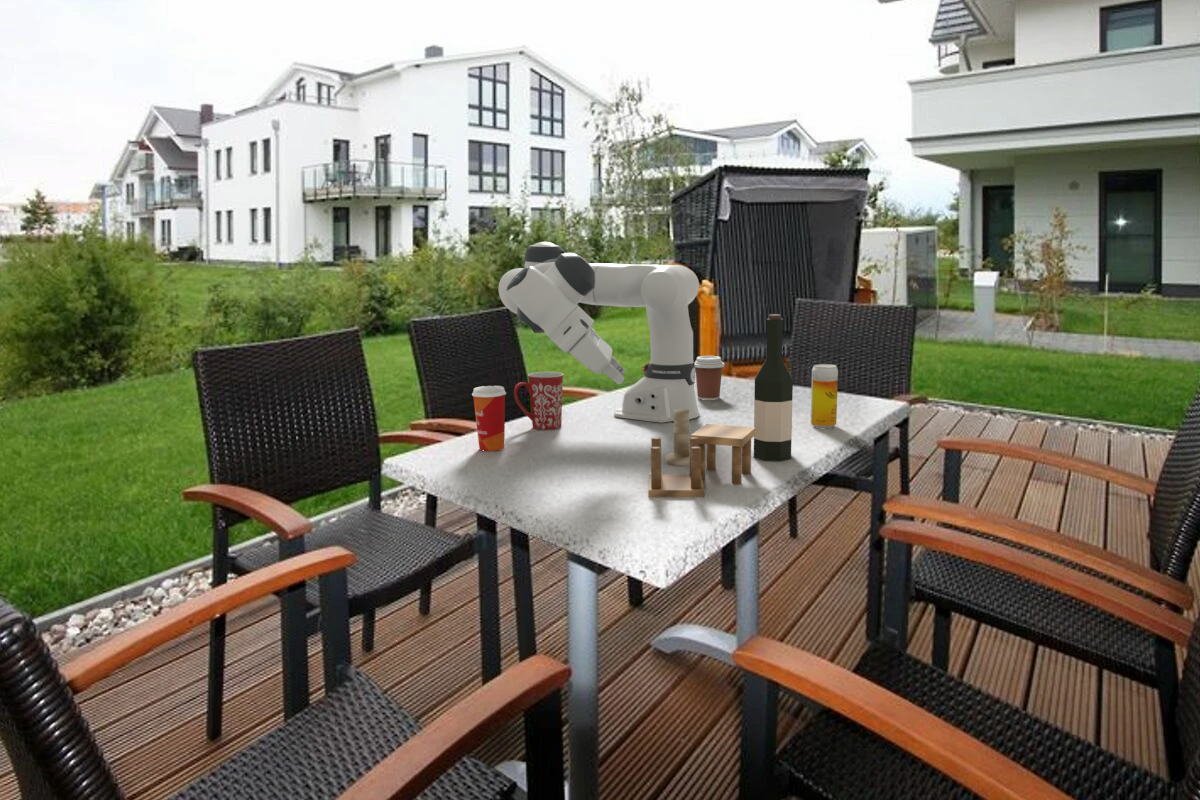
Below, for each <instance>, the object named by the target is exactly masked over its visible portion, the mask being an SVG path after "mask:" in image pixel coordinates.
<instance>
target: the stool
mask: <svg viewBox="0 0 1200 800" xmlns="http://www.w3.org/2000/svg"><path fill="white" fill-rule="evenodd" d="M755 430H756V428H755V427H754V426H743V425H742V426H740V425H725V424H714V423H713V424H712V423H706V424H705V425H703V426H702V427H700V428H699V429H697V430H696V431H694V432H693V433H691V434H690V438H691V437H697V438H699V447H701V475H702V481H705V480H706V470H707V471H711V472H712V471H716V466H717V465H716V463H717V460H716V459H717V458H716V457H717V454H716V453H717V452H716V451H717V447H716V445H717V446H725V447H727V446H728V447H731V484H733V485H740V484H742V474H743V475H750V474H751V473H752V439H754V436H755Z"/></svg>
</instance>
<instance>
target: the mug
mask: <svg viewBox="0 0 1200 800" xmlns="http://www.w3.org/2000/svg"><path fill="white" fill-rule="evenodd" d="M527 379H528V382H524V381H521V382H518V383H517V384H515V386H514V389H513V396H514V400H515V402H516V404H517V405H518V407H519V408H520V410H521V411H522V413H524V415H526V417H528V419H530V420H531V422H532V423H531V425H532V428H534V429H536V430H543V431H545V430H546V431H550V429H551V430H556V429H560V428H561V427H562V415H563V389H564V388H563V383H564V382H563V381H564V380H563V379H564V373H563V372H558V371H537V372H532V373H528V374H527ZM520 387H525V389H527V392H528V393H529V399H530V409H531V413H530V412H529V411H527V409H526V408H525V407H524V406H523V404H522V403H521V402H520V400H519V395H518V394H519V393H518V392H519V389H520Z"/></svg>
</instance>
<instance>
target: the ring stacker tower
mask: <svg viewBox="0 0 1200 800" xmlns="http://www.w3.org/2000/svg"><path fill="white" fill-rule="evenodd" d="M665 464H667V465H669V466H674V467H690V419H689V410H687V409H676V410H674V421H673V451H672V452H668V453H667V454H665Z"/></svg>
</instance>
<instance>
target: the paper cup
mask: <svg viewBox="0 0 1200 800" xmlns="http://www.w3.org/2000/svg"><path fill="white" fill-rule="evenodd" d="M506 394H507V392H506V391H505V387H504V386H502V385H493V386H492V385H486V386H485V385H482V386H477V387H474V388H473V391H472V393H471V395H472V398H473V406H474V414H475V423H476V424H475V425H476V431H477V432H476V433H477V440H478V441H477V442H478V447H479V450H480V449H481V450H484V451H495V452H498V451H497V450H500V451H502V450H501V449H503V448H504V449H505V435H506V434H505V432H506V431H505V428H506V425H505V423H506V422H505V420H506V415H505V413H506V411H505V410H506V407H505V406H506ZM504 449H503V450H504ZM481 450H480V451H481ZM484 451H483V452H484Z"/></svg>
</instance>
